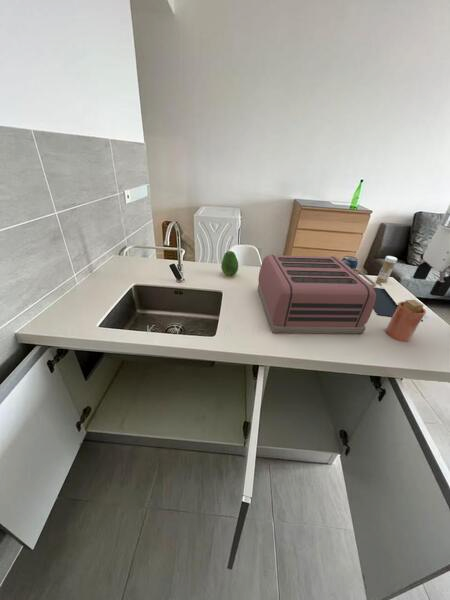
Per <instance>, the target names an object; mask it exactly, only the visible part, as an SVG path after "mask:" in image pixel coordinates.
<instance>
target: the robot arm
mask: <svg viewBox="0 0 450 600" xmlns="http://www.w3.org/2000/svg"><path fill="white" fill-rule="evenodd" d="M421 251H422V252H421V254H420V260H419V261H418V265H417V267H416V268H415V271H414V273H413V276H412V278H413V279H414V280H422V281H425V280H427V277H428V276H429V274H430V272H431V270H432V268H433V269H435V270H436V271H438V272H439V280H438V279H437V280H436V281H435V282H434V284H433V286H432V288H431V289H430V291H429V295H430V296H434V297H435V296H436V297H442V298H443V297H445V296H446V294H447V292H448V291H449V289H450V204H448V207H447V209H446V211H445V212H444V215H443V217H442V219H441V221H440V223H439V225H438V228H437V229H436V231H435V233H434V234H433V235H432V238H431V239H430V241H429V243H428V244H427V245H426V246H423V247H422V250H421ZM446 274H449V275H447V276H446Z"/></svg>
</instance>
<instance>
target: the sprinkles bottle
mask: <svg viewBox="0 0 450 600" xmlns="http://www.w3.org/2000/svg"><path fill="white" fill-rule="evenodd" d="M397 262H398V258H397V257H395V256H392V255H386V256H385V258H384V261H383V264H382V266H381V268H380V271H379V272H378V275H377V278H376V280H375V284H376V285H379V286H382V284H387V282H388V280H389V278H390V276H391V274H392V272H393V269H394V267H395V265H396V263H397Z"/></svg>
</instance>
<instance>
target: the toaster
mask: <svg viewBox="0 0 450 600" xmlns="http://www.w3.org/2000/svg"><path fill="white" fill-rule="evenodd" d="M341 260H342V259H340V258H339V257H337V256H315V255H282V254H281V255H280V254H268V255H266V256H265V257H264V258H263V259H262V263H261V265H260V268H259V273H258V278H257V279H258V285H257V292H258V295H259V297H260V301H261V304H262V306H263V310H264V312H265V315H266V318H267V322H268V324H269V327H270V330H271V333H272V334H363V333H364V332H365V331H366V328H367V327H366V326H365V325H366V324H367V323H368V321H370V317H371V316H372V313H373V311H374V309H373V307H374V304H375V299H376V293H375V290H374V289H373V287H374V288H376V285H377V283H376V282H374V281H373V280H372V279H371V278H370V277H368V276H367V275H365V273H363V272H362V271H361V270H359V269H358V268H356V269H352V268H350V267H349V266H347V265H346V264H345V263H344V262H342V261H341ZM359 274H360V275H359ZM364 278H365V279H364ZM367 281H368V282H367ZM369 282H370V283H369Z"/></svg>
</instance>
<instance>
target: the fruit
mask: <svg viewBox="0 0 450 600" xmlns="http://www.w3.org/2000/svg"><path fill="white" fill-rule="evenodd" d="M220 267H221V271H222V273H223V274H224V275H225V276H227V277H233V276H235V275H236V274H237V273H238V271H239V260H238V259H237V255H236V253H235V252H234V251H232V250H227V251H226V252H225V253H224V255H223V258H222V260H221V265H220Z"/></svg>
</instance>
